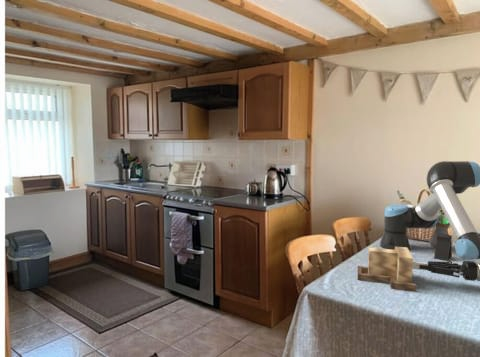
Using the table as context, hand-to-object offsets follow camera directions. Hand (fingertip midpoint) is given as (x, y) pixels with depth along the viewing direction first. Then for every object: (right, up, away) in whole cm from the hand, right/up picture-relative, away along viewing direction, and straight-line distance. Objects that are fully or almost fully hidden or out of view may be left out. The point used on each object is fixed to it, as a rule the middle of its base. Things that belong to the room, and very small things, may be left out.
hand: (410, 264), depth 151 cm
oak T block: (-8, -7, +4) cm, 11 cm away
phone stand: (+32, -5, +33) cm, 46 cm away
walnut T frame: (-9, -7, +3) cm, 11 cm away
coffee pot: (+43, -2, +56) cm, 70 cm away
